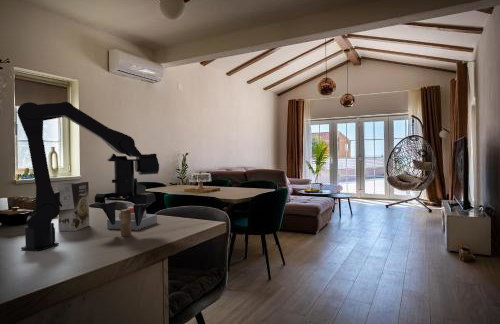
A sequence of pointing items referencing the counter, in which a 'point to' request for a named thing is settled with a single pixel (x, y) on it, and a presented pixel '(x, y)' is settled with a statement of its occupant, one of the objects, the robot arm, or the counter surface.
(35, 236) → the robot arm
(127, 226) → the tapered wooden peg
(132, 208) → the plunger
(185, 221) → the counter surface
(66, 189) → the coffee box
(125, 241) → the counter surface
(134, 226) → the button box
